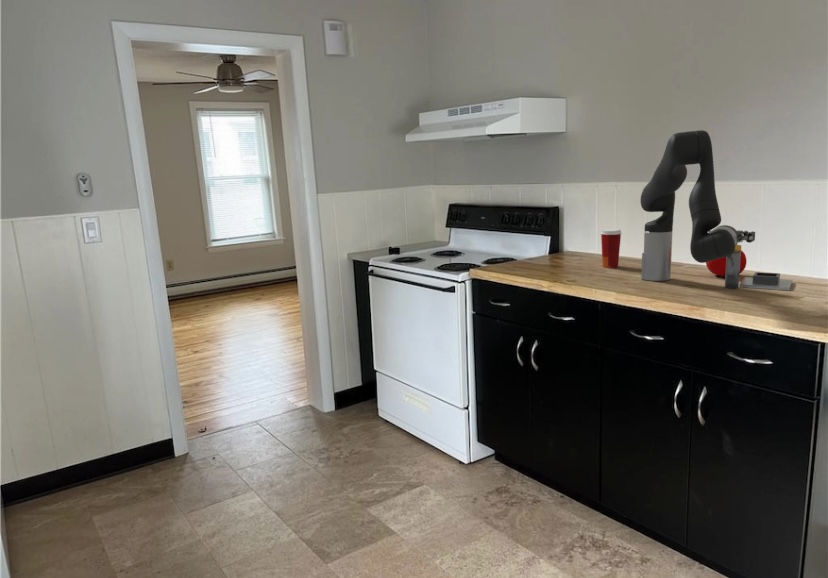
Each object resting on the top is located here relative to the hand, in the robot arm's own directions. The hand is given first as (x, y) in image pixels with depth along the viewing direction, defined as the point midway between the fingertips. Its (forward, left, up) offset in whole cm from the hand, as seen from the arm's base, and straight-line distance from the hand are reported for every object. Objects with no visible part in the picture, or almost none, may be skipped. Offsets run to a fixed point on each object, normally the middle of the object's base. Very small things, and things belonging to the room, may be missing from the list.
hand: (730, 233), depth 186 cm
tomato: (-5, +33, -19) cm, 39 cm away
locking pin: (0, +11, -19) cm, 22 cm away
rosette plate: (+9, +20, -19) cm, 29 cm away
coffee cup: (-48, +39, -19) cm, 65 cm away
